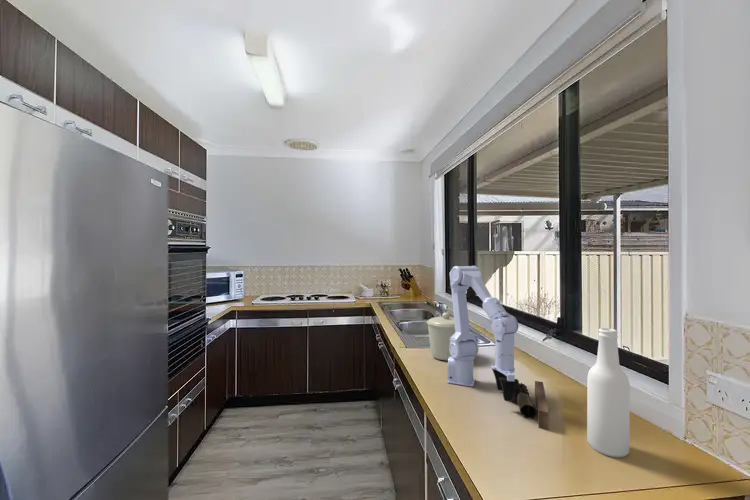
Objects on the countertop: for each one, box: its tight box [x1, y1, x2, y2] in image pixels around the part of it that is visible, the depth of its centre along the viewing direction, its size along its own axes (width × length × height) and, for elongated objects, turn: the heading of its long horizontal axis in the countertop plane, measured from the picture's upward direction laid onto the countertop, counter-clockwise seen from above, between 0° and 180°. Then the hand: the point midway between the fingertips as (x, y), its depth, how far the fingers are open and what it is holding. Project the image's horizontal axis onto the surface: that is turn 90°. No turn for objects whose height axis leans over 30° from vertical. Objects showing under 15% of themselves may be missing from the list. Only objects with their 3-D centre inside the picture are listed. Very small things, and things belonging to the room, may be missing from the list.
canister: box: [426, 312, 464, 362], centre depth 158 cm, size 18×18×21 cm
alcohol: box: [586, 327, 631, 458], centre depth 86 cm, size 9×9×30 cm
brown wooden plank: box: [534, 380, 550, 430], centre depth 106 cm, size 2×24×5 cm, turn 157°
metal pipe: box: [510, 382, 538, 420], centre depth 110 cm, size 18×7×6 cm, turn 165°
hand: (504, 395), depth 110 cm, fingers open, 7 cm apart
